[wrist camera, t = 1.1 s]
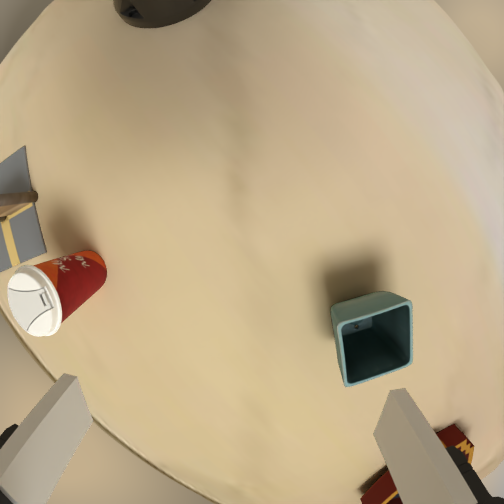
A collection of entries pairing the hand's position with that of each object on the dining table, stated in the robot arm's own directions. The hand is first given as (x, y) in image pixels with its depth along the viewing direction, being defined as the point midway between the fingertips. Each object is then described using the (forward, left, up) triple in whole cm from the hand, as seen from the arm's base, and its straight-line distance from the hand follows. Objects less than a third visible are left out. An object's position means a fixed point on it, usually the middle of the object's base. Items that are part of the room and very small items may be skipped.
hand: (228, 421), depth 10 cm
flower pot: (+11, +12, -26) cm, 31 cm away
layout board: (-17, -36, -26) cm, 48 cm away
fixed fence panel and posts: (-17, -32, -26) cm, 44 cm away
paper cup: (-4, -21, -26) cm, 33 cm away
